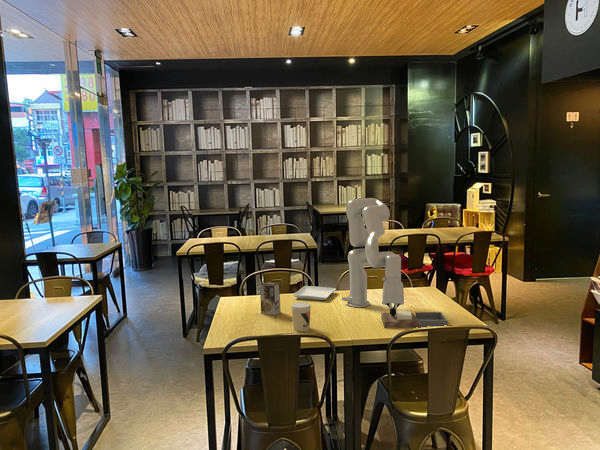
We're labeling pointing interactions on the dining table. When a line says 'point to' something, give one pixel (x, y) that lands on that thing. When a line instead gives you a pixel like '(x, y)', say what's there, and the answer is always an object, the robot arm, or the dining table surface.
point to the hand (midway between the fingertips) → (393, 315)
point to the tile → (403, 315)
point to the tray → (430, 319)
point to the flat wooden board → (398, 321)
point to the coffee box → (270, 298)
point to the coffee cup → (301, 316)
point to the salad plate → (314, 293)
